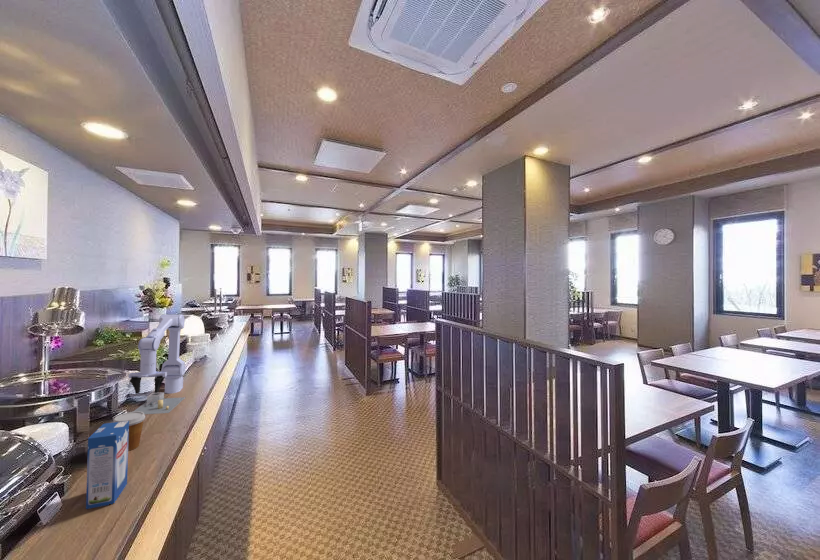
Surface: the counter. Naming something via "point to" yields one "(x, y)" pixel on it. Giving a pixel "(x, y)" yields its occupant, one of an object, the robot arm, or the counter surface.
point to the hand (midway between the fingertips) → (147, 392)
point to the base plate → (157, 411)
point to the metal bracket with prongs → (154, 398)
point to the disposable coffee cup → (132, 427)
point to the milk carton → (107, 464)
